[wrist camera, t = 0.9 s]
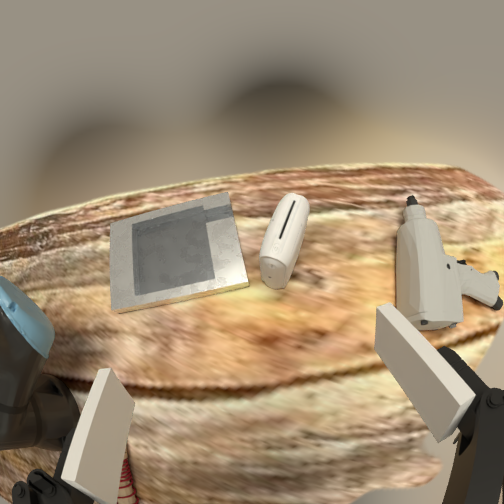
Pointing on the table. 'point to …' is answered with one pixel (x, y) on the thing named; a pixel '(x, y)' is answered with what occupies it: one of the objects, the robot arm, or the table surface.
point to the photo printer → (283, 240)
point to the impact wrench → (435, 275)
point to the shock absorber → (126, 485)
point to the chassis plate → (175, 255)
